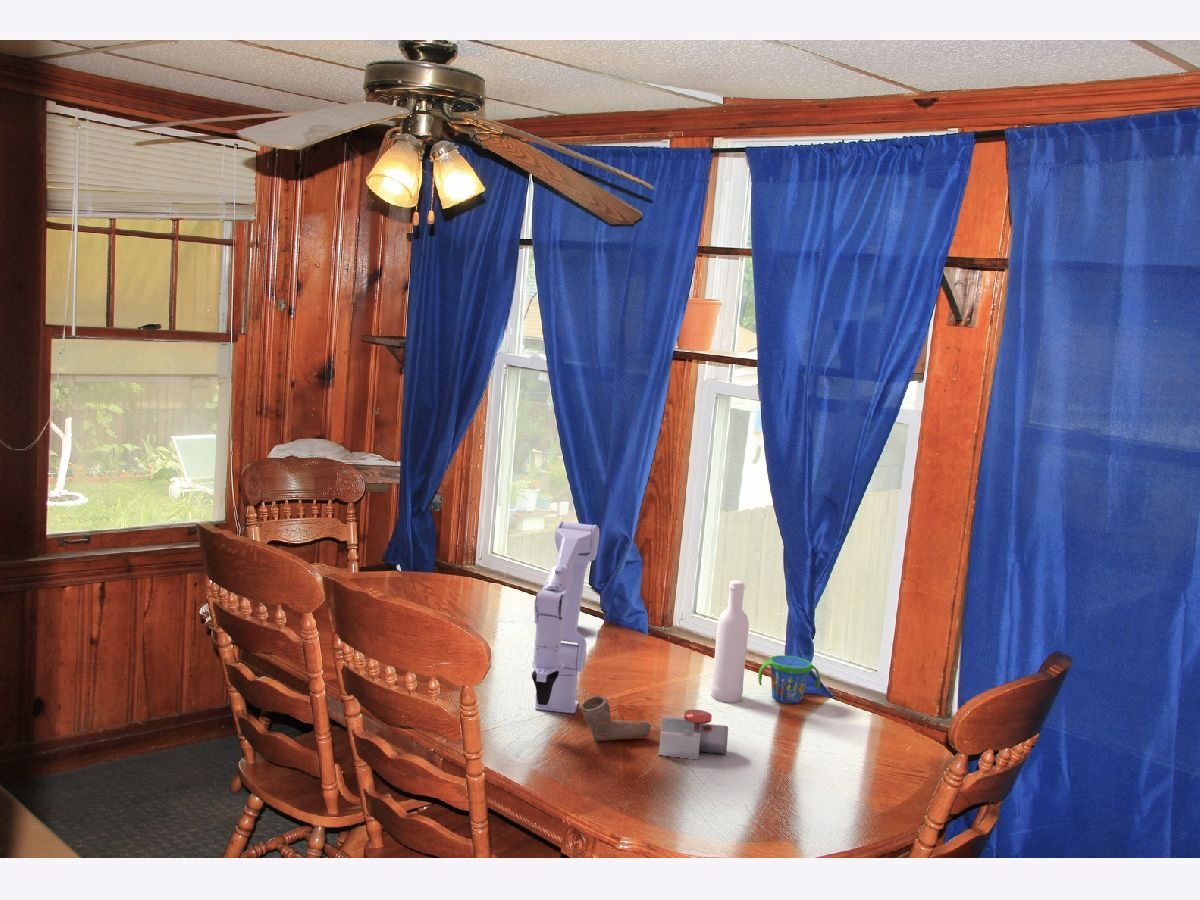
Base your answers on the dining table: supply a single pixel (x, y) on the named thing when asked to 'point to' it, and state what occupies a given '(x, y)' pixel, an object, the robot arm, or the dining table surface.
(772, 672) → the snack cup
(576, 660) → the robot arm
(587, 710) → the pipe
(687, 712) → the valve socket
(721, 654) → the bottle
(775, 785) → the dining table surface
